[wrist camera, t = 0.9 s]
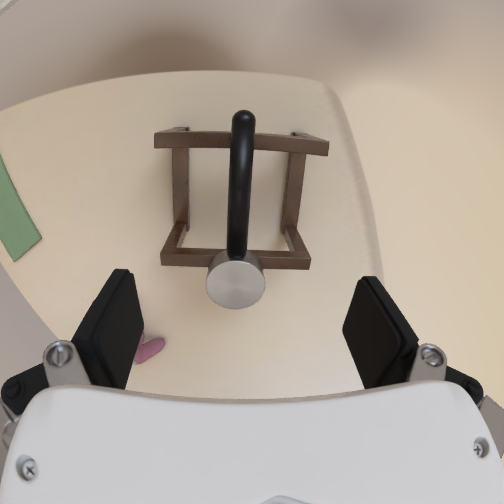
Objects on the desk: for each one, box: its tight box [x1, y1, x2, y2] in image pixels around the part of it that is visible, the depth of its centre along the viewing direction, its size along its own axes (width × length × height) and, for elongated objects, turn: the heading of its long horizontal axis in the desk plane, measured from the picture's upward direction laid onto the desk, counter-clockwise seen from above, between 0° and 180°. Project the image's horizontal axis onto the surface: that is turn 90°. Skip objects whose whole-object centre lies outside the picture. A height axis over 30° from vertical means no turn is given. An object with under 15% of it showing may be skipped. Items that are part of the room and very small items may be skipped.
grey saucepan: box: [206, 110, 265, 309], centre depth 20 cm, size 16×5×2 cm, turn 176°
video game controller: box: [133, 333, 165, 365], centre depth 34 cm, size 10×5×7 cm, turn 16°
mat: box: [0, 156, 42, 262], centre depth 26 cm, size 16×9×1 cm, turn 23°
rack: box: [154, 127, 329, 270], centre depth 24 cm, size 11×13×8 cm
